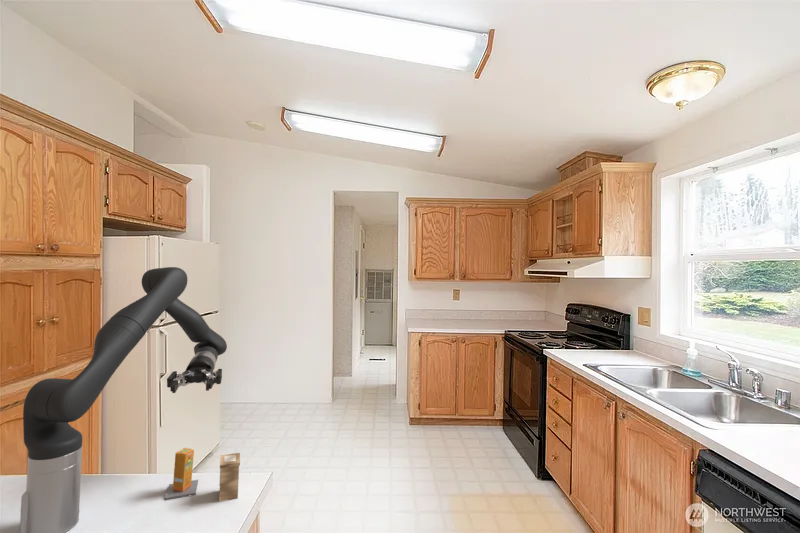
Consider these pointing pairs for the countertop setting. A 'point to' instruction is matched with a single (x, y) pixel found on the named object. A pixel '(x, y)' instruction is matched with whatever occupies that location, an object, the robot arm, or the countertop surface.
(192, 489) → the coaster
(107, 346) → the robot arm
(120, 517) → the countertop surface
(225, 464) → the box
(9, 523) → the countertop surface
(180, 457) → the supplement box
